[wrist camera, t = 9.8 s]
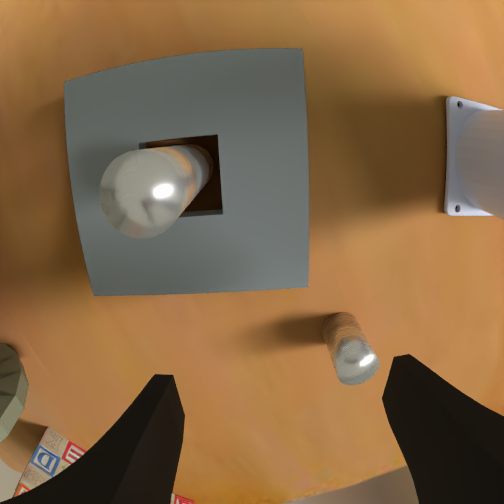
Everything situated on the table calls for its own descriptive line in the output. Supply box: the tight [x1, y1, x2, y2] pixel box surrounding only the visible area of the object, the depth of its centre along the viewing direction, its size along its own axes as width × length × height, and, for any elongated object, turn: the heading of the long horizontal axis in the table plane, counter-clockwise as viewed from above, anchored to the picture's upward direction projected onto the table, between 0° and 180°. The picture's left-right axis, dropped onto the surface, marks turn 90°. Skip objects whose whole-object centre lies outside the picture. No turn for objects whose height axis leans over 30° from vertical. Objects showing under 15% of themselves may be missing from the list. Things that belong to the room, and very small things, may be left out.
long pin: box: [99, 144, 213, 239], centre depth 13 cm, size 3×3×9 cm
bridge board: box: [64, 48, 309, 296], centre depth 16 cm, size 12×12×3 cm
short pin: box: [322, 312, 379, 385], centre depth 19 cm, size 3×3×4 cm
